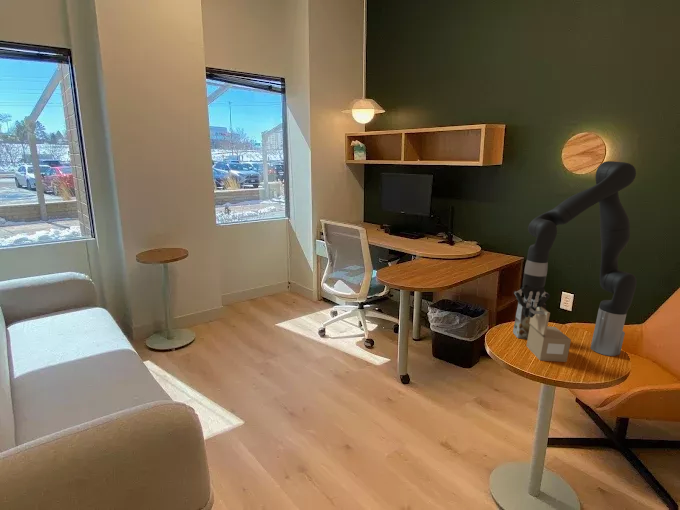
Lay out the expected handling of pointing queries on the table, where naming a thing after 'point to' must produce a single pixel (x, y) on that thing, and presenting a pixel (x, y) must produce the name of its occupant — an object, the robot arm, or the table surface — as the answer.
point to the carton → (549, 344)
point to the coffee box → (522, 322)
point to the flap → (539, 320)
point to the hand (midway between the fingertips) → (528, 316)
